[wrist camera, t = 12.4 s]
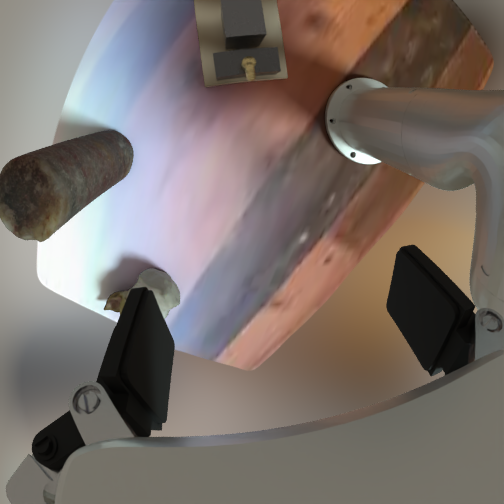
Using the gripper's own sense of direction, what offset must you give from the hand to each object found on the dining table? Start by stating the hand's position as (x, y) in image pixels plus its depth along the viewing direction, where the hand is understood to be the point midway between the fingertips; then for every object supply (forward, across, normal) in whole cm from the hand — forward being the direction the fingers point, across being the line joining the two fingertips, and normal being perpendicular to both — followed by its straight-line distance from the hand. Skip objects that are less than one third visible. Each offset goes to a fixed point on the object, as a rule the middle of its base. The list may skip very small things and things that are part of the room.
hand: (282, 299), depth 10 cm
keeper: (+27, -2, -11) cm, 29 cm away
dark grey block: (+27, -2, -19) cm, 33 cm away
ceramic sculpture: (+29, +18, +19) cm, 39 cm away
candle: (+28, +17, -4) cm, 33 cm away
